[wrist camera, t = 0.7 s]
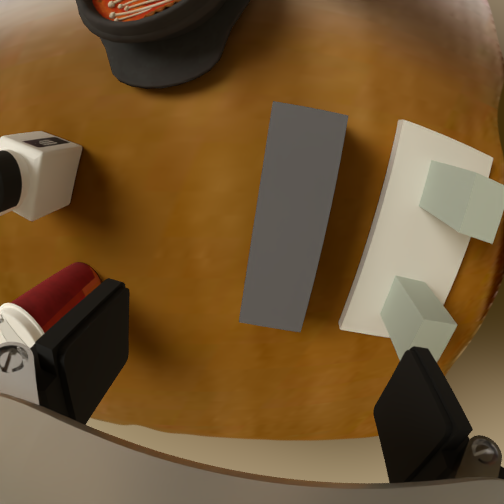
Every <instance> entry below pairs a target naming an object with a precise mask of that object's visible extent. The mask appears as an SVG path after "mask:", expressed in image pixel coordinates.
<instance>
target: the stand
mask: <svg viewBox="0 0 504 504" xmlns="http://www.w3.org/2000/svg"><path fill="white" fill-rule="evenodd" d="M492 161H493V158H492V157H490V156H488V155H486V154H484V153H482V152H480V151H478V150H476V149H474V148H472V147H470V146H467V145H465V144H463V143H461V142H458V141H456V140H454V139H452V138H449V137H447V136H445V135H442V134H440V133H437V132H435V131H432V130H430V129H427V128H425V127H422V126H420V125H417V124H414V123H412V122H409V121H406V120H399V121H398V125H397V130H396V134H395V139H394V143H393V148H392V152H391V156H390V160H389V164H388V168H387V172H386V176H385V180H384V184H383V187H382V191H381V195H380V198H379V202H378V205H377V209H376V212H375V216H374V219H373V223H372V226H371V229H370V233H369V236H368V239H367V242H366V245H365V248H364V252H363V255H362V258H361V261H360V264H359V267H358V270H357V273H356V276H355V278H354V281H353V284H352V287H351V290H350V293H349V295H348V298H347V301H346V304H345V306H344V309H343V312H342V314H341V317H340V320H339V322H338V323H339V327H340V330H346V331H351V332H357V333H363V334H369V335H375V336H382V337H388V338H391V340H392V343H393V345H394V348H395V350H396V352H397V355H398V357H399V360H401V358H402V356H403V354H404V353H405V351H406V350H409V349H410V348H411V347H413V346H415V347H422V348H428V349H429V351H430V352H431V354H432V356H433V357H434V359H435V361H436V362H437V361H438V360H439V358H440V356H441V354H442V353H443V351H444V349H445V347H446V346H447V344H448V342H449V340H450V338H451V336H452V334H453V332H454V331H455V329H456V327H457V324H456V322H455V321H454V319H453V318H452V317H451V315H450V314H449V313H448V311H447V310H446V309H445V307H444V306H443V305H444V303H445V300H446V298H447V296H448V294H449V291H450V289H451V287H452V284H453V282H454V280H455V277H456V275H457V272H458V270H459V267H460V265H461V262H462V260H463V257H464V254H465V252H466V249H467V246H468V243H469V241H470V238H471V237H474V238H477V239H480V240H482V241H485V242H488V243H491V244H493V241H494V238H495V235H496V232H497V229H498V226H499V223H500V220H501V217H502V213H503V210H504V185H502V184H500V183H498V182H496V181H494V180H492V179H489V174H490V170H491V165H492Z"/></svg>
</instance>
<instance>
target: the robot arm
mask: <svg viewBox="0 0 504 504" xmlns="http://www.w3.org/2000/svg"><path fill="white" fill-rule="evenodd" d="M128 333H129V289H128V288H125V284H124V283H123V282H120V281H116V280H113V279H109V278H108V279H106V280H105V281H104V282H102V283H101V284H100V285H99V286H98V287H96V288H95V289H94V290H93V291H92V292H91V293H89V294H88V295H87V296H86V297H85V298H84V299H82V300H81V301H80V302H79V303H78V304H77V305H76V306H74V307H73V308H72V309H71V310H70V311H69V312H68V313H66V314H65V315H64V316H63V317H62V318H61V319H60V320H59V321H57V322H56V323H55V324H54V325H53V326H52V327H51V328H50V329H49V330H48V331H46V332H45V333H44V334H43V335H42V336H41V337H40V338H39V339H38V340H37V341H36V342H35V344H34V345H33V346H32V347H31V348H29V347H28V346H26V345H24V344H22V343H19V342H5V343H2V344H0V504H504V468H503V467H501V460H502V454H501V451H500V449H499V447H498V445H497V444H496V443H495V442H494V441H493V440H491V439H490V438H488V437H485V436H480V435H478V436H474V437H472V438H471V439H470V440H469V438H468V435H469V433H470V432H471V431H472V427H471V425H470V423H469V421H468V419H467V417H466V415H465V413H464V411H463V409H462V408H461V406H460V404H459V402H458V400H457V398H456V397H455V394H454V393H453V391H452V389H451V388H450V385H449V384H448V382H447V380H446V378H445V376H444V375H443V373H442V371H441V369H440V368H439V366H438V364H437V362H436V361H435V359H434V357H433V356H432V354H431V352H430V351H429V349H428V348H422V347H415V346H413V347H411V348H410V349H409V350H406V351H405V353H404V354H403V356H402V358H401V360H400V362H399V364H398V366H397V368H396V370H395V372H394V373H393V375H392V377H391V379H390V381H389V382H388V384H387V386H386V388H385V389H384V391H383V393H382V395H381V396H380V398H379V400H378V401H377V403H376V405H375V407H374V418H375V422H376V426H377V430H378V434H379V438H380V442H381V446H382V451H383V455H384V459H385V463H386V468H387V472H388V477H389V482H390V483H374V484H373V483H371V484H365V483H364V484H362V483H361V484H359V483H331V482H316V481H304V480H294V479H285V478H277V477H270V476H263V475H257V474H251V473H245V472H240V471H234V470H229V469H225V468H220V467H215V466H211V465H206V464H202V463H198V462H194V461H190V460H186V459H183V458H179V457H175V456H172V455H168V454H165V453H161V452H158V451H155V450H152V449H149V448H146V447H143V446H140V445H137V444H134V443H131V442H128V441H126V440H123V439H120V438H118V437H115V436H112V435H109V434H107V433H104V432H102V431H99V430H97V429H94V428H91V427H89V426H87V425H86V423H87V421H88V420H89V418H90V417H91V415H92V414H93V412H94V410H95V409H96V407H97V406H98V404H99V403H100V401H101V400H102V398H103V397H104V395H105V393H106V392H107V390H108V389H109V387H110V386H111V384H112V383H113V381H114V380H115V378H116V377H117V375H118V374H119V372H120V371H121V369H122V368H123V366H124V365H125V363H126V361H127V359H128V353H129V349H128Z"/></svg>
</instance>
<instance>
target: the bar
mask: <svg viewBox="0 0 504 504" xmlns="http://www.w3.org/2000/svg"><path fill="white" fill-rule="evenodd" d="M347 120H348V116H347V115H343V114H338V113H334V112H329V111H324V110H319V109H314V108H309V107H304V106H298V105H292V104H286V103H280V102H274V101H273V105H272V111H271V118H270V124H269V130H268V137H267V143H266V150H265V156H264V162H263V169H262V175H261V182H260V188H259V195H258V201H257V208H256V214H255V220H254V227H253V233H252V240H251V246H250V253H249V259H248V266H247V272H246V279H245V285H244V292H243V298H242V305H241V312H240V318H239V322H242V323H247V324H253V325H259V326H265V327H271V328H277V329H283V330H289V331H296V332H301V329H302V325H303V321H304V318H305V314H306V310H307V306H308V303H309V299H310V295H311V291H312V287H313V283H314V279H315V275H316V271H317V267H318V263H319V258H320V254H321V250H322V246H323V241H324V237H325V233H326V228H327V224H328V219H329V214H330V210H331V205H332V200H333V195H334V191H335V186H336V181H337V176H338V170H339V165H340V160H341V155H342V149H343V144H344V138H345V132H346V126H347Z"/></svg>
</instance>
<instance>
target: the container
mask: <svg viewBox="0 0 504 504" xmlns="http://www.w3.org/2000/svg"><path fill="white" fill-rule="evenodd" d="M81 152H82V146H81V145H78V144H75V143H73V142H70V141H67V140H65V139H62V138H59V137H56V136H54V135H51V134H48V133H45V132H43V131H37V132H28V133H20V134H13V135H6V136H2V137H1V138H0V216H1V215H3V214H5V213H8V212H10V211H14V212H15V213H17V214H19V215H21V216H22V217H24V218H26V219H28V220H30V221H34V220H36V219H39V218H41V217H43V216H45V215H47V214H49V213H52V212H54V211H56V210H58V209H60V208H63V207H65V206H67V205H69V204H70V201H71V196H72V191H73V186H74V182H75V177H76V173H77V168H78V164H79V160H80V156H81Z"/></svg>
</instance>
